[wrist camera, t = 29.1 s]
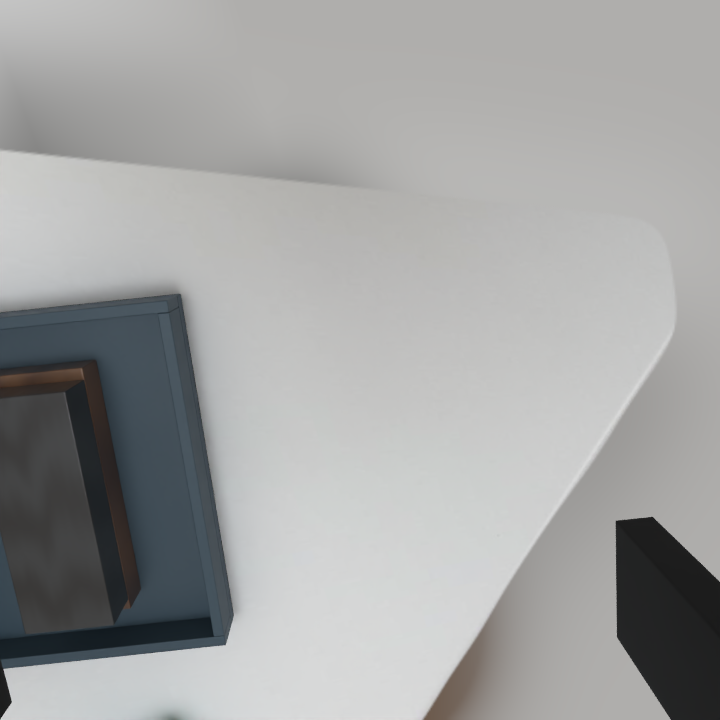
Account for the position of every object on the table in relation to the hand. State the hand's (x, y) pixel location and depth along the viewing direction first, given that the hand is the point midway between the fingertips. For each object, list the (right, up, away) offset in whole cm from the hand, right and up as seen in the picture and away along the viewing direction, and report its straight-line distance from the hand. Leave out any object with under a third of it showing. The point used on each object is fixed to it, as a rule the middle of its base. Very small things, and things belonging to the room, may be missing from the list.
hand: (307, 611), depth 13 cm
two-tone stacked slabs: (-16, -4, +30) cm, 34 cm away
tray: (-20, -4, +34) cm, 39 cm away
